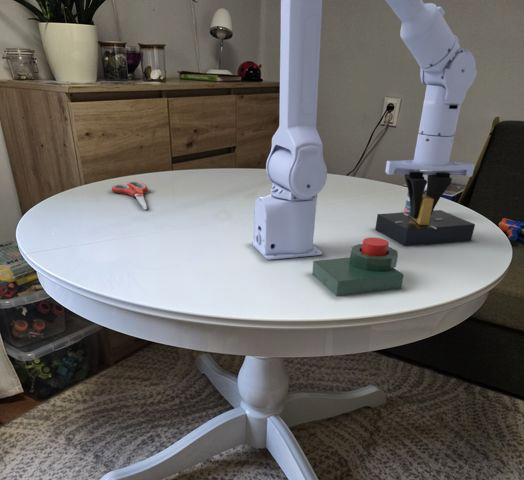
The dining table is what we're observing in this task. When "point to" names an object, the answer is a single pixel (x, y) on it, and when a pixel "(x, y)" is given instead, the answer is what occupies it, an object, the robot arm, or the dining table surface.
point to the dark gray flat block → (424, 228)
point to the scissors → (133, 191)
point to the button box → (359, 273)
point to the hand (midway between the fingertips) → (420, 217)
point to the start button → (375, 247)
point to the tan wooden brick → (425, 210)
